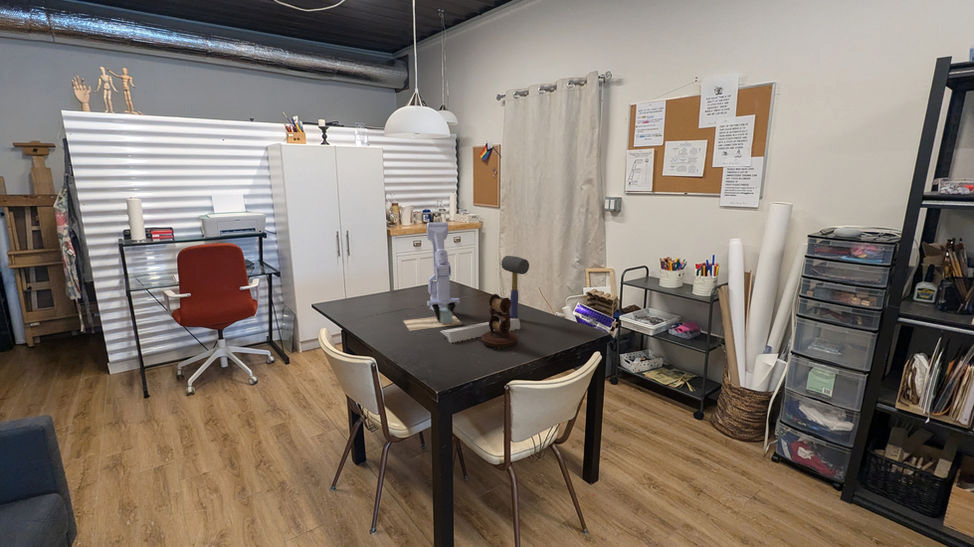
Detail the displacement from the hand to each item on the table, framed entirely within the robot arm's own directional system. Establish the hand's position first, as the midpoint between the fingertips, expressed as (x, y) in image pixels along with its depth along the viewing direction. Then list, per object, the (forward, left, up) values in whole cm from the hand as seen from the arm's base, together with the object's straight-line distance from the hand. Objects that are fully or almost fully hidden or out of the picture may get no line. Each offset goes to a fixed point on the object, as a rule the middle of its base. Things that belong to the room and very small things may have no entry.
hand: (443, 319), depth 206 cm
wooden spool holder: (+30, +15, -2) cm, 34 cm away
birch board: (0, -5, -2) cm, 6 cm away
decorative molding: (+15, +12, -3) cm, 20 cm away
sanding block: (+1, 0, -1) cm, 1 cm away
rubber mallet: (+5, +33, -2) cm, 33 cm away
